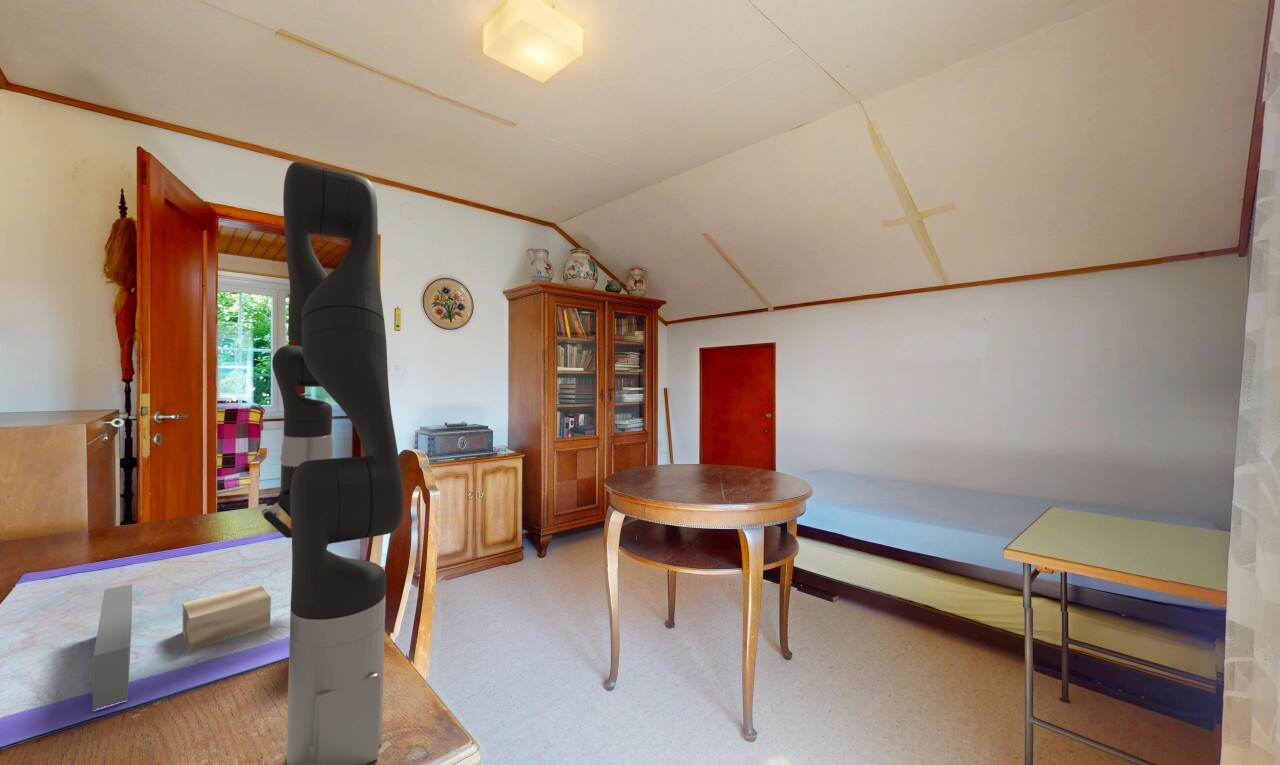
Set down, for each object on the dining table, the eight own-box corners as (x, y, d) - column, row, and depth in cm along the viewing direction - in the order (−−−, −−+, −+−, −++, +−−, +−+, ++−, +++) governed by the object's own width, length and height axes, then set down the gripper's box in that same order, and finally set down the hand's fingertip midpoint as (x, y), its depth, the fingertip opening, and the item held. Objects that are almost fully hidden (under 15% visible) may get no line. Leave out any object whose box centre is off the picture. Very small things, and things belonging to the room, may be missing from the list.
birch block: (270, 627, 82) (270, 597, 82) (189, 651, 75) (189, 618, 75) (259, 612, 87) (260, 584, 87) (182, 633, 80) (182, 602, 79)
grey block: (127, 701, 63) (128, 647, 63) (92, 712, 61) (93, 655, 61) (131, 627, 80) (132, 584, 80) (104, 633, 78) (104, 589, 78)
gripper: (264, 468, 80) (261, 574, 81) (355, 460, 90) (352, 555, 90) (256, 460, 86) (254, 560, 86) (343, 453, 95) (341, 543, 96)
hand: (304, 557), depth 88 cm, fingers closed
